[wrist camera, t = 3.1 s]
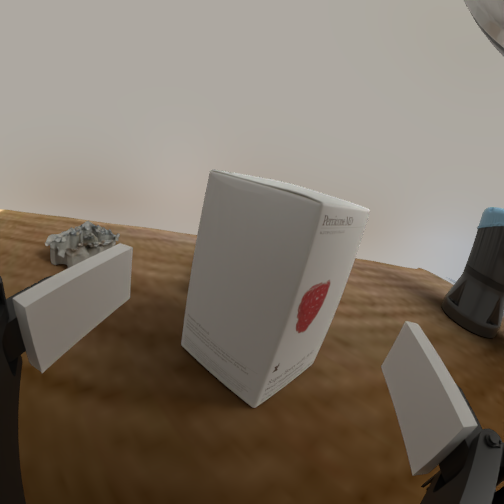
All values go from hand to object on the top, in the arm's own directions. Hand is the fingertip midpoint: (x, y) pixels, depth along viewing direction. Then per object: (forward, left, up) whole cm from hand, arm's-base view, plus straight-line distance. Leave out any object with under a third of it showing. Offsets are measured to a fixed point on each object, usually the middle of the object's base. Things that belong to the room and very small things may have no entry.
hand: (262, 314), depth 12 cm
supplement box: (+6, -6, -10) cm, 13 cm away
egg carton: (+30, +6, -10) cm, 33 cm away
